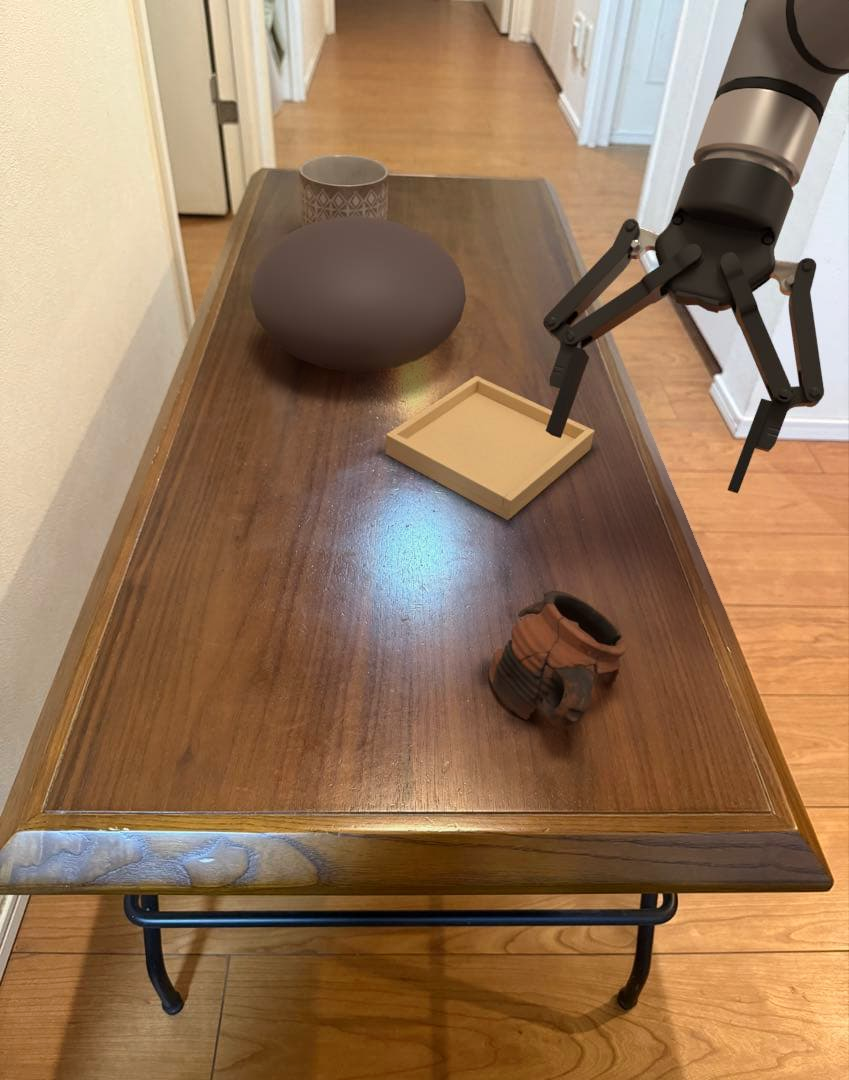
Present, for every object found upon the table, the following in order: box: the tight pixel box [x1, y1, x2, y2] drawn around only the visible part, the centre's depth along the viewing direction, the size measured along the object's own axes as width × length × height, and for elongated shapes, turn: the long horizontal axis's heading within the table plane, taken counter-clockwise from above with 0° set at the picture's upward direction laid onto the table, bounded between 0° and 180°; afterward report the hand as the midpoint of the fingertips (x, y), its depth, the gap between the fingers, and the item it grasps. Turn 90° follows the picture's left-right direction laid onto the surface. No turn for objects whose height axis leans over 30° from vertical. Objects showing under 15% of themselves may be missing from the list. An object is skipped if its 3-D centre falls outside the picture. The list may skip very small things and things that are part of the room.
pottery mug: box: [488, 590, 627, 729], centre depth 64 cm, size 12×10×8 cm
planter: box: [298, 153, 390, 227], centre depth 122 cm, size 13×13×10 cm
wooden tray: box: [385, 375, 595, 521], centre depth 87 cm, size 16×16×2 cm
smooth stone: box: [249, 216, 467, 373], centre depth 97 cm, size 25×25×15 cm
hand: (639, 462), depth 61 cm, fingers open, 13 cm apart
